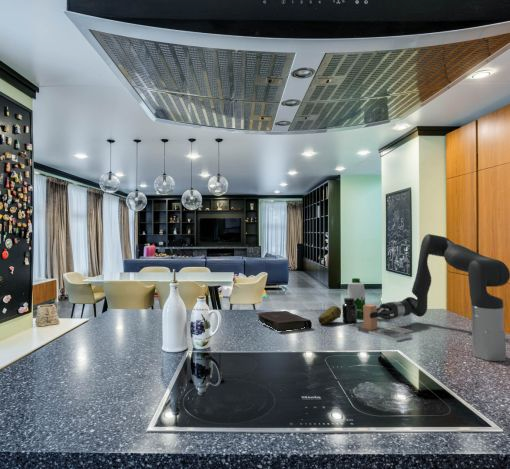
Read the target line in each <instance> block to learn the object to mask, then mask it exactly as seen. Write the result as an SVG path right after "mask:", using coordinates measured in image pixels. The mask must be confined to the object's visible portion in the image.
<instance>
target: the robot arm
mask: <svg viewBox="0 0 510 469" xmlns="http://www.w3.org/2000/svg"><path fill="white" fill-rule="evenodd" d="M429 255H430V256H431V255H432V256H436V257H442V258H443V259H444V261H445V262H446V263H447V264H448V265H449V266H451V267H452V268H454V269H456V270H459V271H461V272H465V273H468V274H467V276H468V278H467V279H468V287H469V288H468V289H469V297H470V302H471V303H470V304H471V336H472V338H471V340H472V341H471V342H472V355H473V357H476V358H478V359H481V360H485V361H488V362H489V361H490V362H491V361H492V362H493V361H494V362H495V361H496V362H498V361H499V362H500V361H501V362H502V361H503V362H506V361H507V356H506V355H507V353H506V352H507V351H506V332H505V327H504V326H505V322H504V318H505V317H504V300H503V299H502V298H500V297H497V296H494V295H493V294H491V293H489V292H488V289H487V287H488V288H491V287H493V288H495V287H496V288H497V287H501V286H505V285H506V284H507V283H508V282H509V281H510V269H509V267H508V266H507V265H506V263H504V262H503V261H502V260H499V259H495V258H492V257H488V256H485V255H482V254H481V253H478V252H476V251H474V250H471V249H470V248H468V247H465V246H464V245H461V244H457V243H455V242H453V241H452V240H450V239H449V238H448V237H446V236H441V235H436V234H431V233H428V234H426V235H424V236H423V238H422V240H421V244H420V250H419V256H418V261H417V262H418V263H417V269H416V276H415V279H414V282H413V285H412V288H411V292H412V294H413V295H414V296H415V297H413V296H408V297H407V296H406V298H404V299H403V300H400V301H391V302H390V301H389V302H383V303H381V304H380V305H379V306H377V312H373V313H370V318H377V319H384V320H389V321H390V320H393V319H394V320H395V319H398V318H399V319H400V318H401V317H402V318H403V317H406V316H407V317H408V316H409V315H411V314H413V315H414V316H416V317H421V318H422V317H423V316H425V314H426V313H427V311H428V295H429V291H430V288H431V285H432V275H431V272H430V271H431V270H430V268H429V264H428V258H429ZM361 316H363V311H361Z"/></svg>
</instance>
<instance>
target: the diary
mask: <svg viewBox="0 0 510 469" xmlns="http://www.w3.org/2000/svg"><path fill="white" fill-rule="evenodd" d="M255 314H256V315H257V316H258V321H259V320H260V321H261V322H262V323H265V324H266V325H268V326H270V327H272V328H273V329H275V330H277V331H286V330H294V329H299V330H302V329H301V328H304V327H305V328H307V329H310V328H311V329H312V327H313V323H312V320H311V319H308V318H305V317H303V316H300V315H297V314H295V313H291V312H290V311H287V310H280V311H279V310H278V311H263V312H257V313H255ZM308 327H309V328H308ZM305 328H304V329H305ZM273 329H272V330H273ZM294 331H295V330H294Z"/></svg>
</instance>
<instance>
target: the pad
mask: <svg viewBox="0 0 510 469" xmlns="http://www.w3.org/2000/svg"><path fill="white" fill-rule="evenodd" d="M387 329H389V330H393V331H397V332H401V333H405V334H408V333H411V332H414V330H412V329H408V328H404V327H399V326H393V327H389V328H387Z"/></svg>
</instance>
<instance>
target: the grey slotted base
mask: <svg viewBox="0 0 510 469" xmlns="http://www.w3.org/2000/svg"><path fill="white" fill-rule="evenodd" d="M347 325H348V326H347V327H348V329H350V330H354V331H358V332H361V333H364V334H367V335H368V334H369V335H371V336H375V337H379V338H383V339H385V340H390V341H392V342H400V341H406V340H408V339H409V340H410V339H412V334H409V333H401V332H397V331H393V330H389V329H388V328H385V327H380V326H377V329H374V330H368V329H364V322H359V323H358V322H357V323H354V324H347Z"/></svg>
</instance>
